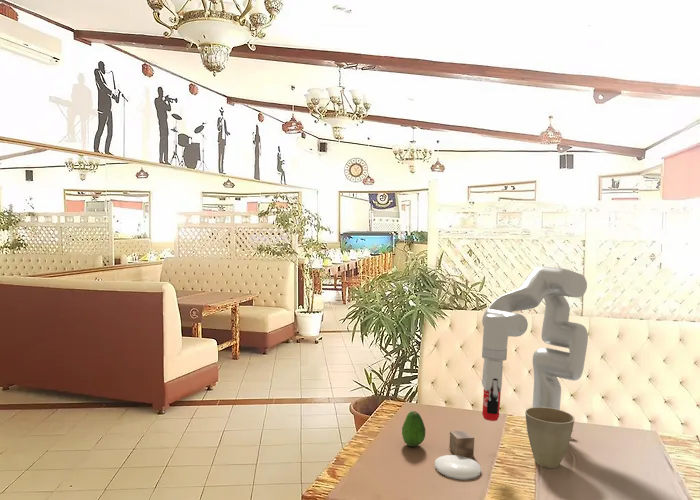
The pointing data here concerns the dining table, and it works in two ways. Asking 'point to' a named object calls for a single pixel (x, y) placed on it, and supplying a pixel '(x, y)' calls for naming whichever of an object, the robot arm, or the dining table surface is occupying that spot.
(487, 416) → the beverage can
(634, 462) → the dining table surface
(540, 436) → the plant pot
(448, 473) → the ceramic plate
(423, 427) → the avocado
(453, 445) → the walnut block
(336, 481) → the dining table surface
